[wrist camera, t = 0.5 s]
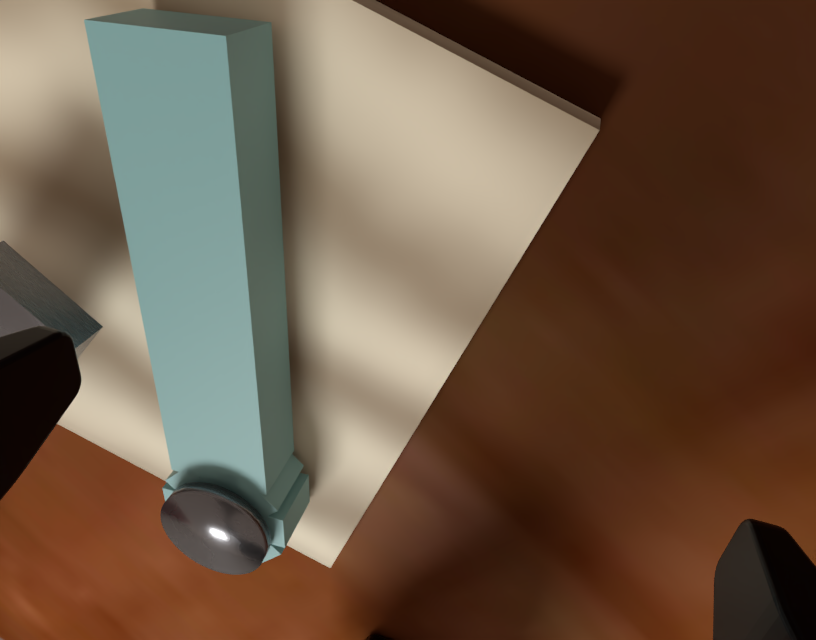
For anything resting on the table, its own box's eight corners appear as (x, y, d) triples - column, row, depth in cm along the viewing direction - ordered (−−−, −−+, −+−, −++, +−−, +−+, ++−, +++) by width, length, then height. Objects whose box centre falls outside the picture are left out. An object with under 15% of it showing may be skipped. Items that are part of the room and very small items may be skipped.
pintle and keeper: (359, 456, 26) (312, 551, 22) (239, 535, 31) (184, 624, 27) (76, 202, 24) (-34, 259, 20) (-5, 332, 29) (-105, 399, 25)
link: (310, 529, 29) (286, 576, 27) (205, 500, 30) (174, 543, 28) (291, 24, 18) (248, 38, 16) (124, 6, 19) (63, 17, 17)
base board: (339, 547, 32) (330, 568, 31) (-99, 316, 32) (-122, 329, 31) (600, 118, 18) (599, 130, 17) (-152, -277, 18) (-195, -288, 18)
